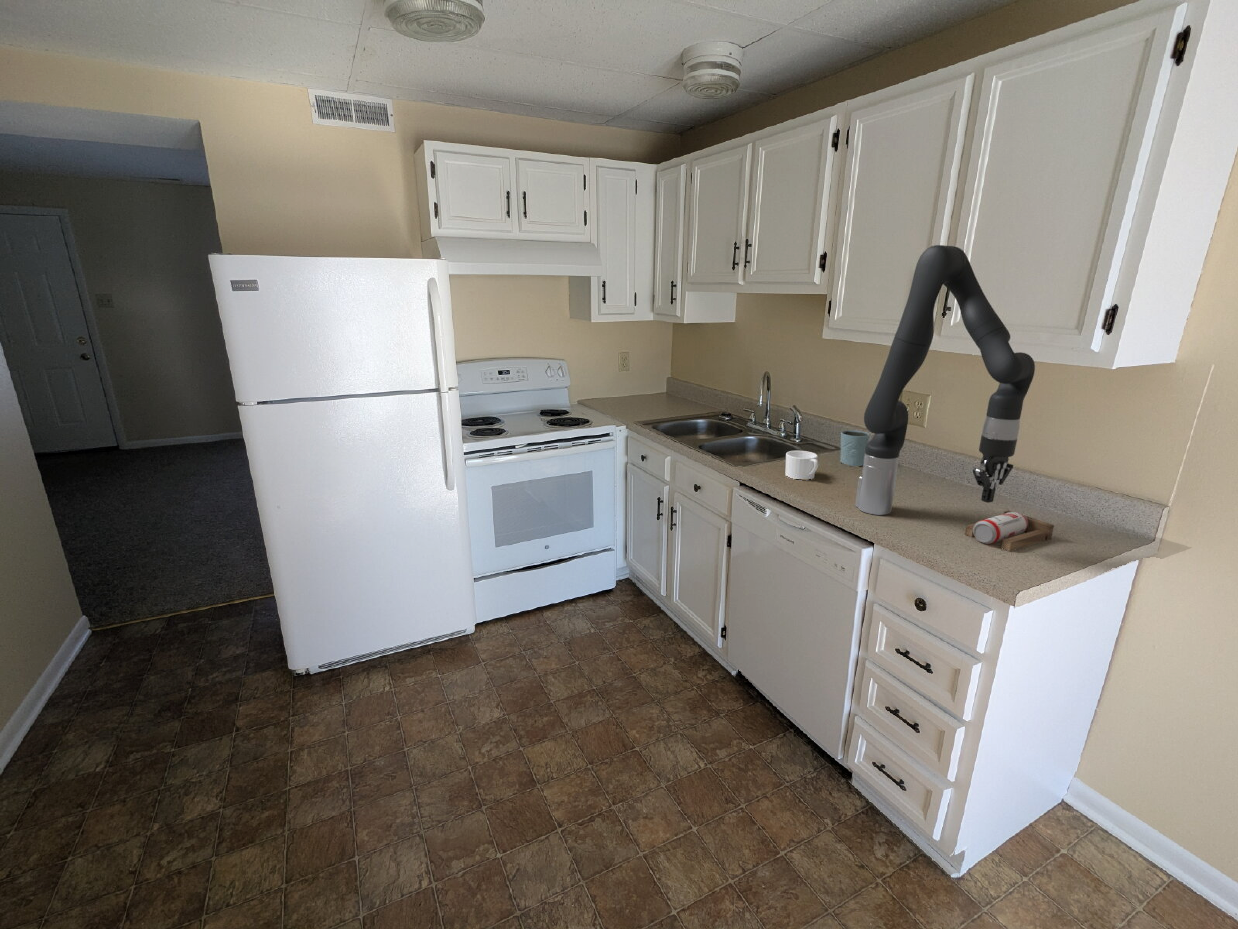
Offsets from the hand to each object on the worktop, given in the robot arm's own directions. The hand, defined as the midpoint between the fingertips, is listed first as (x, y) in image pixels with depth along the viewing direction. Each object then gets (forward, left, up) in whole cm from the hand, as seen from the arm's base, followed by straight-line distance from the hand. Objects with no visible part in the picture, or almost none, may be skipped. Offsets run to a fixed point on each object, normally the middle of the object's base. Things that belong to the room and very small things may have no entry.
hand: (986, 501), depth 151 cm
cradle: (0, +11, -12) cm, 16 cm away
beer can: (0, +1, -9) cm, 9 cm away
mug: (-64, -1, -12) cm, 65 cm away
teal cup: (-69, +28, -12) cm, 75 cm away
